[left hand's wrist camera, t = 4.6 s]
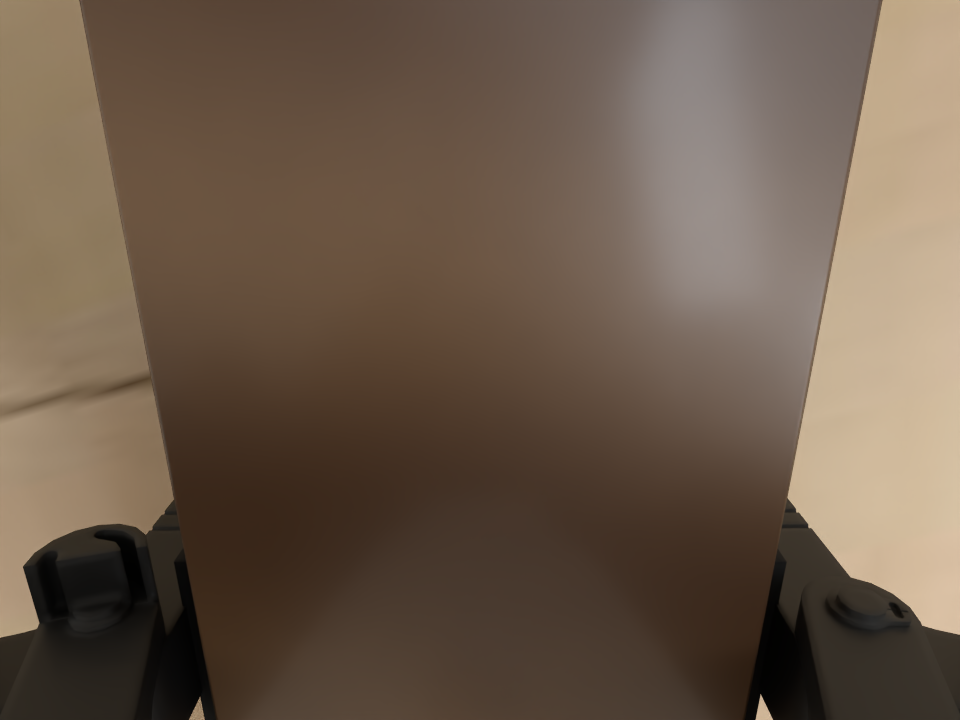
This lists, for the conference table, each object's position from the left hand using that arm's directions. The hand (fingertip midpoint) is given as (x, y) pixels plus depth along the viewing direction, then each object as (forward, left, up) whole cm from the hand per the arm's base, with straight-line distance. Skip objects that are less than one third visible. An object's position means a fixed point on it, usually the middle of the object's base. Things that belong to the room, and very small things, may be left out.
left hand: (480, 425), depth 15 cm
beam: (+15, +7, 0) cm, 16 cm away
